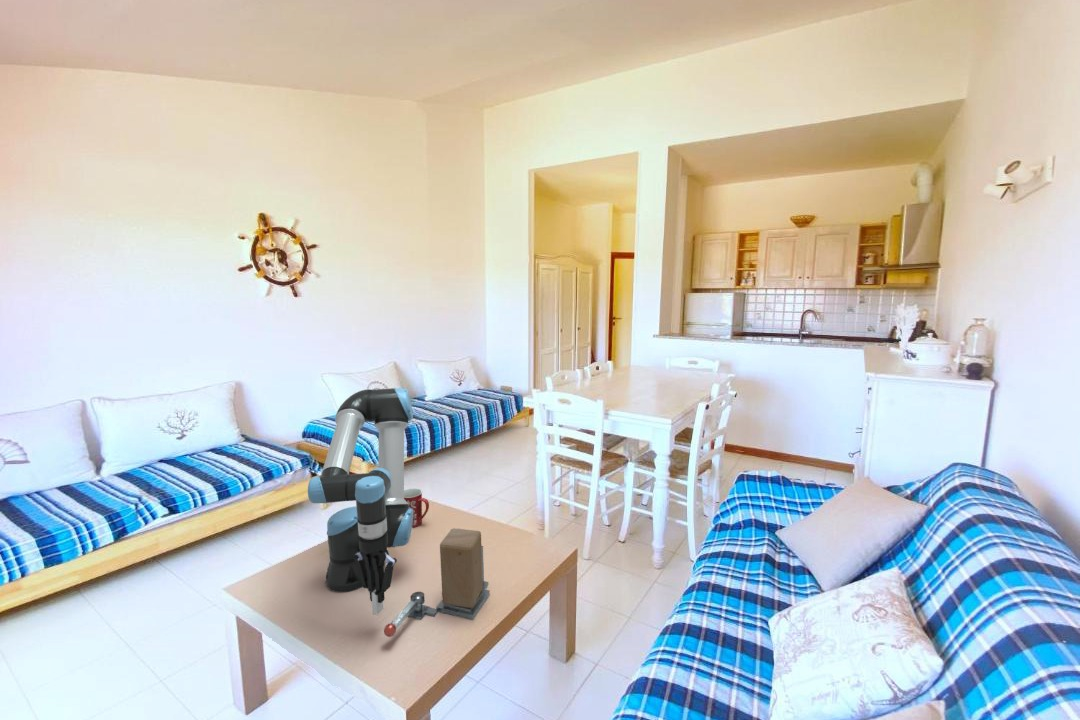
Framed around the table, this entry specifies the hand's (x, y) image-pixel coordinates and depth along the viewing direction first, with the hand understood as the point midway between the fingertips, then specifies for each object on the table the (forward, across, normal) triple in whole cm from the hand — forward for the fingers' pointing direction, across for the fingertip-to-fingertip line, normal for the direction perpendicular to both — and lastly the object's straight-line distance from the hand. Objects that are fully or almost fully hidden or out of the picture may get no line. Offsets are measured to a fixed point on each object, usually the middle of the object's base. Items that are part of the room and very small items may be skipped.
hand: (378, 611), depth 135 cm
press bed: (+5, +14, +17) cm, 23 cm away
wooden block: (+4, +18, +18) cm, 25 cm away
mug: (+5, -23, +55) cm, 60 cm away
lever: (+3, +7, +3) cm, 8 cm away
